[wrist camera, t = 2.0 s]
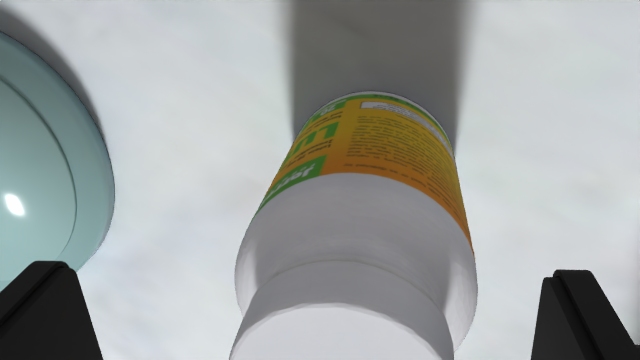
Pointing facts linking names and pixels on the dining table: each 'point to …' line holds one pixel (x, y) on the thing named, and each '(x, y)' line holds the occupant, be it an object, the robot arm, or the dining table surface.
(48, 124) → the dish
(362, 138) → the supplement bottle
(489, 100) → the dining table surface
